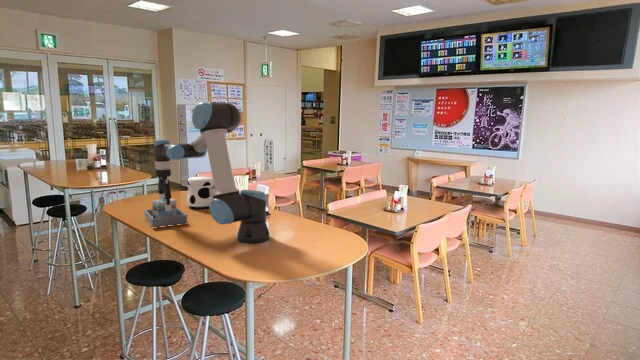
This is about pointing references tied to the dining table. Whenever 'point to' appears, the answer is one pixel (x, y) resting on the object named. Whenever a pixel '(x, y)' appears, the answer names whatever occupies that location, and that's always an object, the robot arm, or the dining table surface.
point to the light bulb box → (163, 209)
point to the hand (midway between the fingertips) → (165, 208)
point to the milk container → (200, 192)
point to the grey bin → (166, 219)
